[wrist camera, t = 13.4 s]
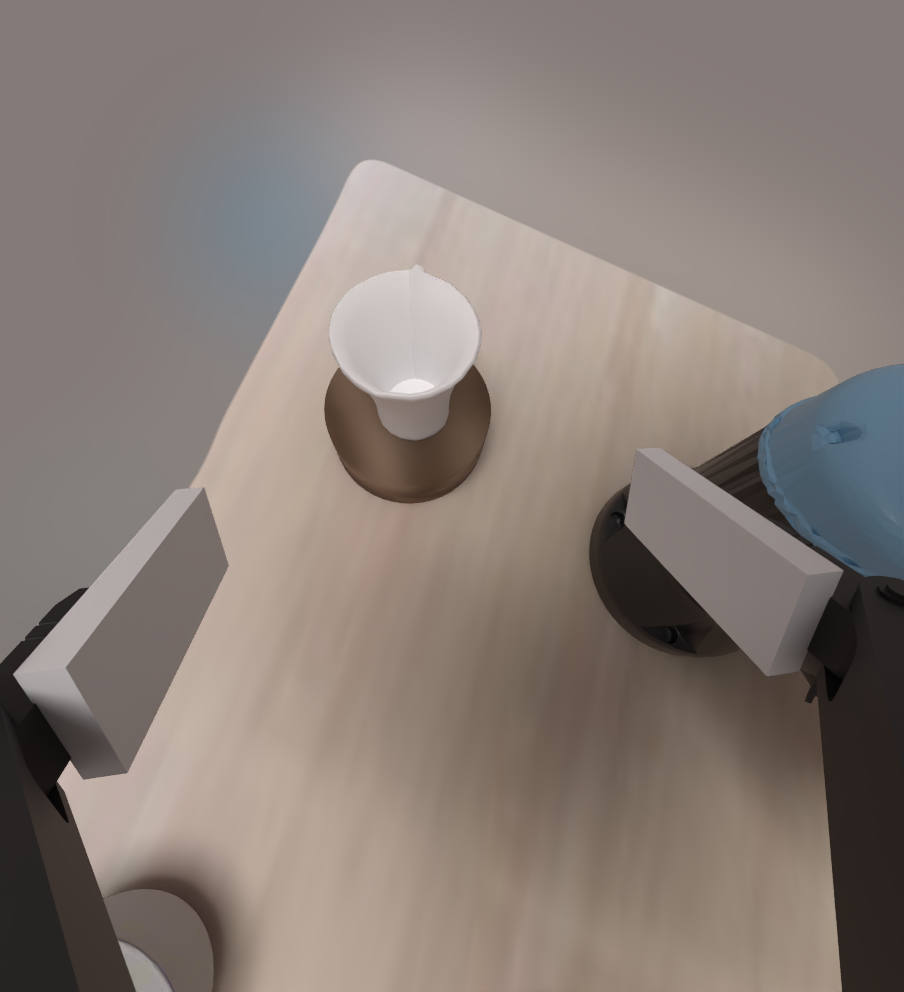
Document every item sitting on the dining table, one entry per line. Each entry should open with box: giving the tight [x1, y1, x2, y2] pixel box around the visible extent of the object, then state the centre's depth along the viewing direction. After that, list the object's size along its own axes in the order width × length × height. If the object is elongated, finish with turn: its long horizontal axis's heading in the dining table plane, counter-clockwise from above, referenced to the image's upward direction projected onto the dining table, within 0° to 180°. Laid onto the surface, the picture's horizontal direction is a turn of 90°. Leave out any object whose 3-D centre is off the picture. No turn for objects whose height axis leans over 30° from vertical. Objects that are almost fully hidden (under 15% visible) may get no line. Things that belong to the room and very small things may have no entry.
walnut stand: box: [324, 365, 491, 503], centre depth 38 cm, size 13×13×5 cm
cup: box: [329, 265, 482, 441], centre depth 31 cm, size 9×9×10 cm
